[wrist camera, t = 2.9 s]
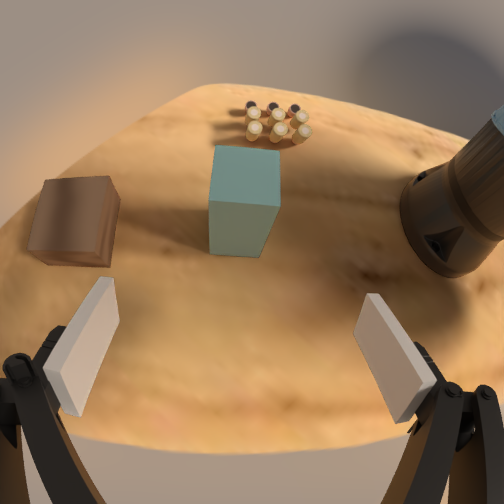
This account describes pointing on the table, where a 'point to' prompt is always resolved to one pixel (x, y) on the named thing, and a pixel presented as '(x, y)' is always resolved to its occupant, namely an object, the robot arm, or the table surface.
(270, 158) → the teal block
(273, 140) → the ammunition
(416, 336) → the table surface
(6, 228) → the table surface
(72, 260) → the walnut base
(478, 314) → the table surface
